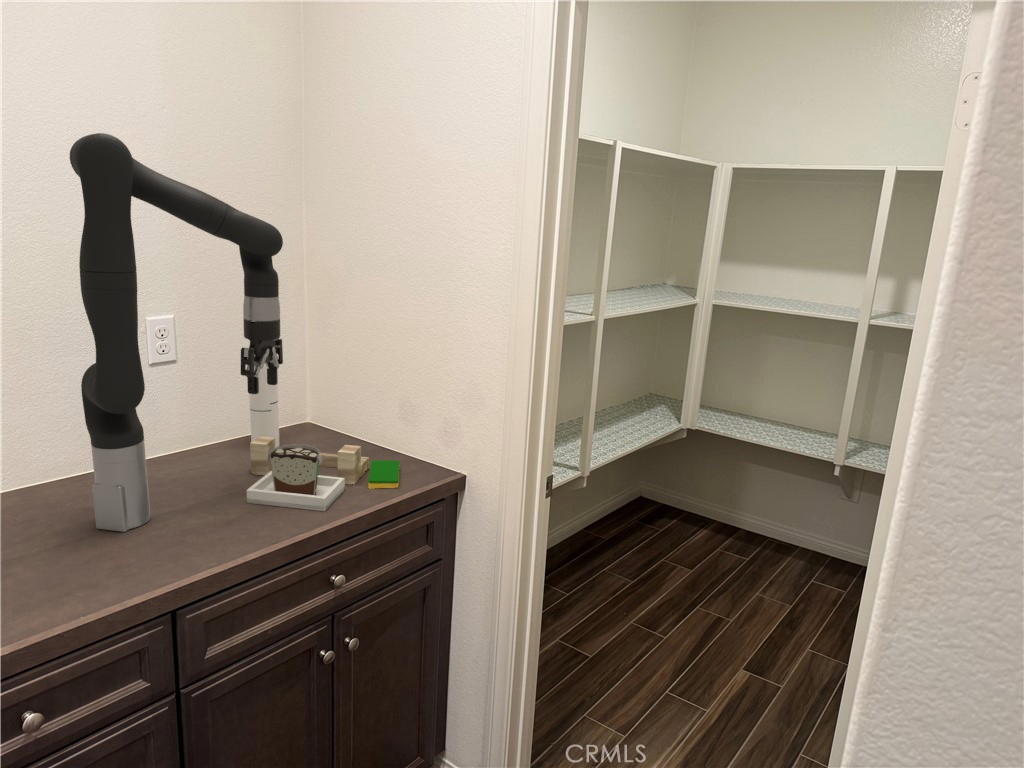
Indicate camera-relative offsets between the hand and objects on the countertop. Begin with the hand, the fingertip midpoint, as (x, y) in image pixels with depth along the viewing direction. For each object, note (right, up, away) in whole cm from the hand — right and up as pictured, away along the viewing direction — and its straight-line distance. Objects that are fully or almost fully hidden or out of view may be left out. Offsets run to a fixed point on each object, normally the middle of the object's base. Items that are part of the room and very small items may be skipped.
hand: (263, 389), depth 154 cm
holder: (+5, -21, +19) cm, 28 cm away
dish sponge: (+24, -23, +18) cm, 37 cm away
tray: (+6, -24, +4) cm, 26 cm away
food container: (+7, -23, +6) cm, 25 cm away
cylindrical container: (-12, -16, +35) cm, 40 cm away
